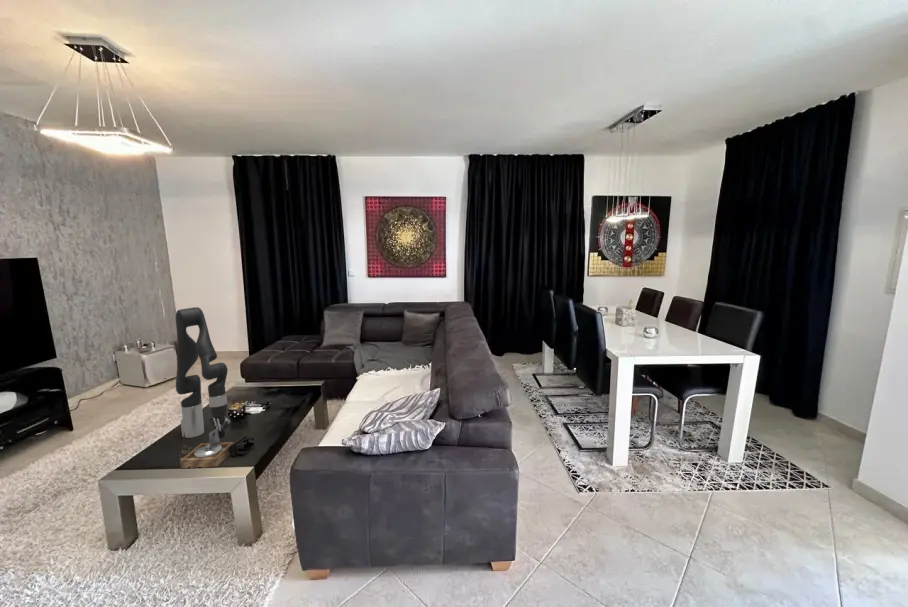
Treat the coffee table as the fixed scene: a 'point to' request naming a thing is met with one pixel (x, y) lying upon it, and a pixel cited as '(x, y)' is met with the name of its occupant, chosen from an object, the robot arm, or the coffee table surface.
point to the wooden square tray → (205, 462)
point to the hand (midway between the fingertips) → (221, 437)
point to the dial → (210, 447)
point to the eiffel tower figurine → (184, 451)
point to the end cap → (241, 446)
